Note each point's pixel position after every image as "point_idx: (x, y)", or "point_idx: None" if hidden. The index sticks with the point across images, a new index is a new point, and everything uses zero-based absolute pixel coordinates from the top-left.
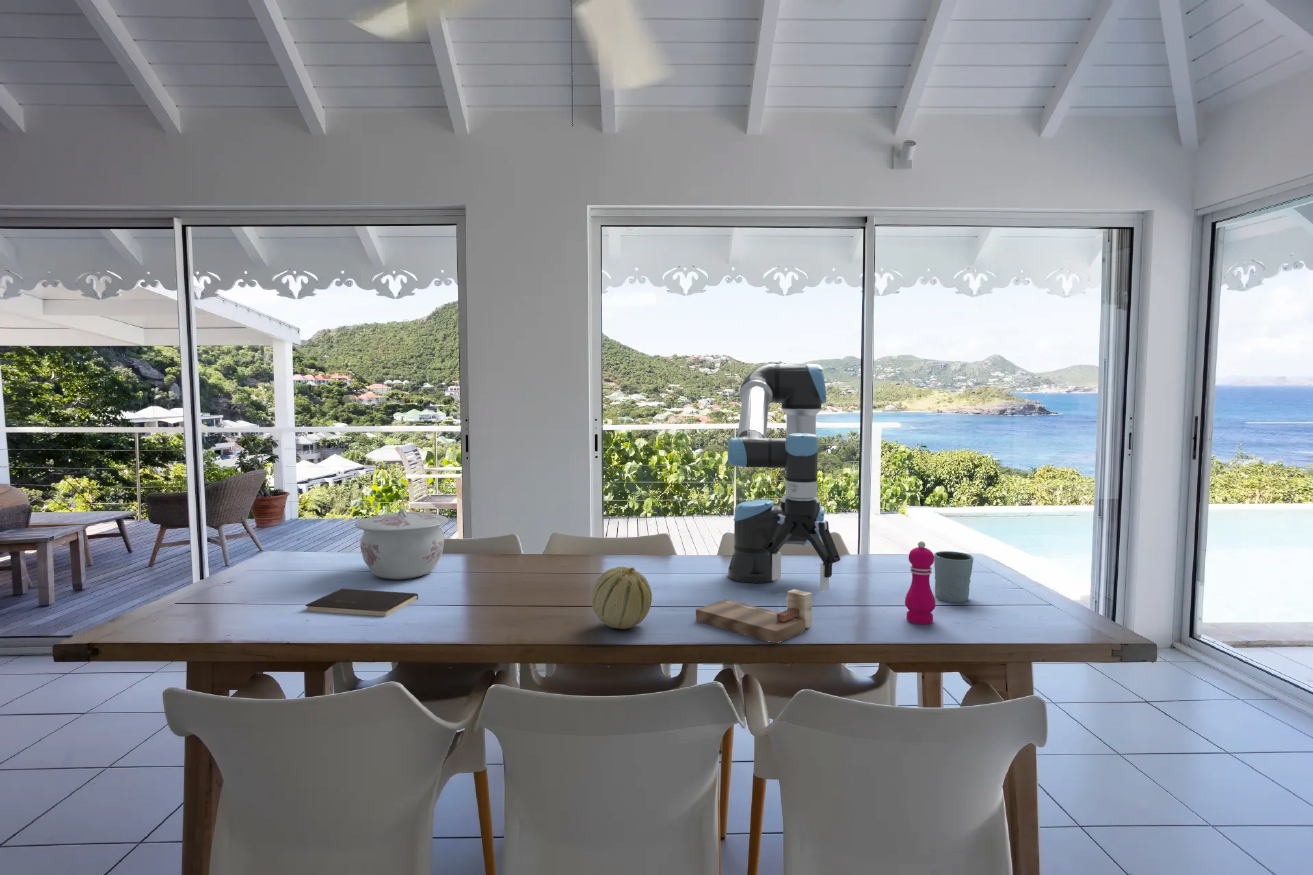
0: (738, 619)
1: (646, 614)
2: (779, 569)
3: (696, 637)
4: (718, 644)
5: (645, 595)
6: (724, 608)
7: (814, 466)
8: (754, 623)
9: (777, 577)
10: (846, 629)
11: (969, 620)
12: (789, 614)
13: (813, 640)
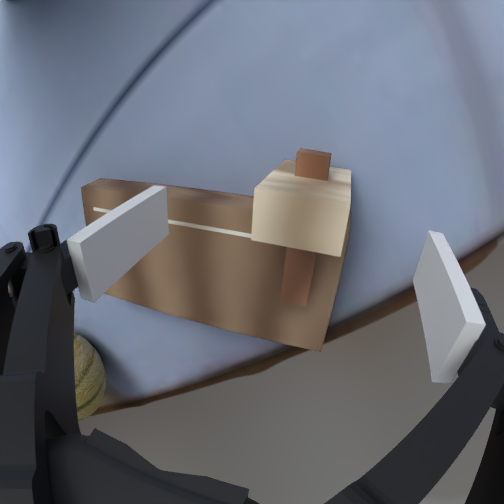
0: (201, 316)
1: (97, 365)
2: (141, 213)
3: (180, 353)
4: (230, 368)
5: (85, 398)
6: None
7: None
8: (247, 326)
9: (163, 216)
10: (447, 127)
11: None
12: (311, 278)
13: (395, 267)
